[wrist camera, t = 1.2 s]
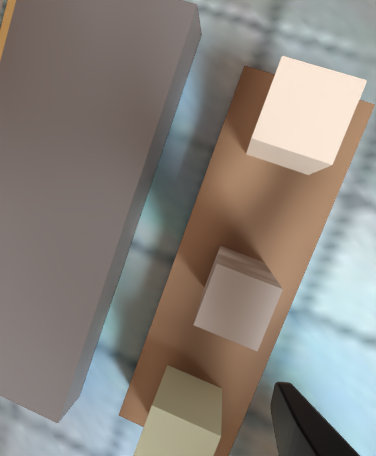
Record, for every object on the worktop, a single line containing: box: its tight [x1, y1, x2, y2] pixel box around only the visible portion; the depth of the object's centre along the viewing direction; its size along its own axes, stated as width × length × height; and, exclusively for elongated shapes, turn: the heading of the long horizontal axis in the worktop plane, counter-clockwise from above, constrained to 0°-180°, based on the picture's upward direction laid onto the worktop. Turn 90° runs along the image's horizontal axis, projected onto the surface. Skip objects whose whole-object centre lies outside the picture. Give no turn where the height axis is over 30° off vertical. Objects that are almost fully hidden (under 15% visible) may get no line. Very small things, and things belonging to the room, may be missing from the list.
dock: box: [0, 0, 202, 423], centre depth 21 cm, size 13×30×3 cm, turn 160°
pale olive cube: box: [133, 365, 222, 456], centre depth 17 cm, size 4×4×4 cm
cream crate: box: [246, 56, 367, 175], centre depth 15 cm, size 4×4×4 cm
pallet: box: [119, 65, 375, 456], centre depth 17 cm, size 8×25×9 cm, turn 160°
